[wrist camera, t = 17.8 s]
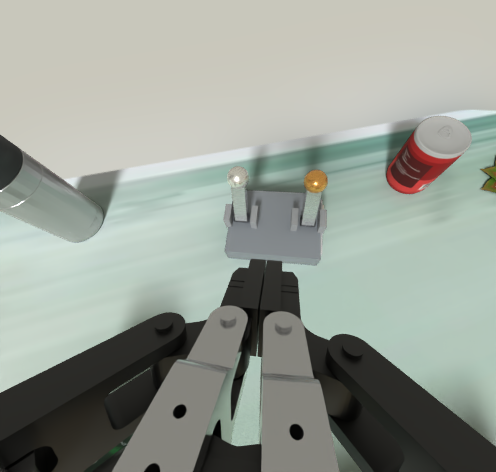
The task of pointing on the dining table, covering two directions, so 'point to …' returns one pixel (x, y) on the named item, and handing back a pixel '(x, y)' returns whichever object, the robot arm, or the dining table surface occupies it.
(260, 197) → the console
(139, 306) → the dining table surface
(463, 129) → the canned food
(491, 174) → the lily flower
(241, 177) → the lever white
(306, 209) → the lever orange
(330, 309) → the dining table surface
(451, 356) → the dining table surface
